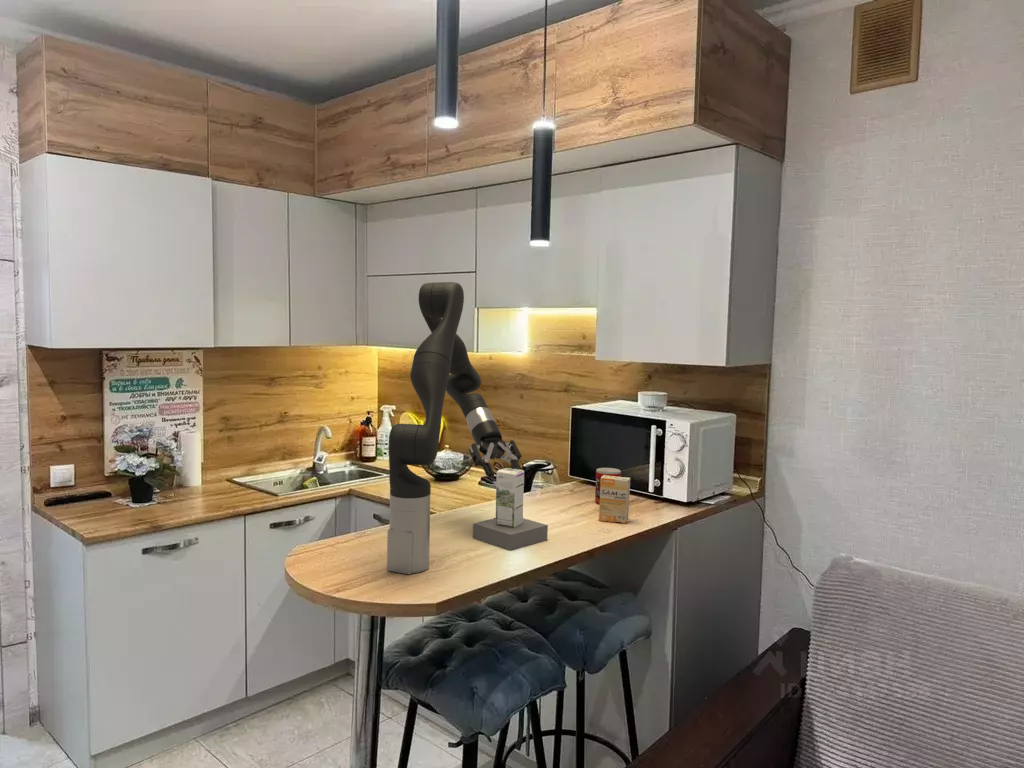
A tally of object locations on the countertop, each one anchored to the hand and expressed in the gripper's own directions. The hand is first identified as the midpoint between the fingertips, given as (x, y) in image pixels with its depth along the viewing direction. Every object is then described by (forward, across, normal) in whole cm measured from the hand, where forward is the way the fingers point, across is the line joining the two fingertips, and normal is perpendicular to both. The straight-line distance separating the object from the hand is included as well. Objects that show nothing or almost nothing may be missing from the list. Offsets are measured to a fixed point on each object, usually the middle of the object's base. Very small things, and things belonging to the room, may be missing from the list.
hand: (505, 475), depth 191 cm
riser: (+14, 0, +10) cm, 17 cm away
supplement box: (+14, +37, +10) cm, 41 cm away
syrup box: (+11, 0, +7) cm, 13 cm away
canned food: (+2, +50, +22) cm, 55 cm away
